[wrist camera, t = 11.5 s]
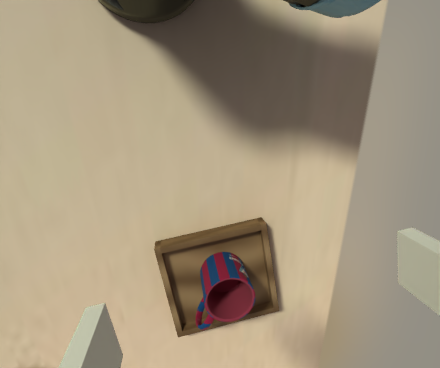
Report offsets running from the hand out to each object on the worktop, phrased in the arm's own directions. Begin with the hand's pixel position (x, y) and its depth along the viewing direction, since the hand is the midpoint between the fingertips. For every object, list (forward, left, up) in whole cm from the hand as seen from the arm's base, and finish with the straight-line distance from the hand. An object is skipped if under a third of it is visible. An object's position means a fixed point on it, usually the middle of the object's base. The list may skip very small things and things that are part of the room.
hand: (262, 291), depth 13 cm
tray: (+17, -1, -29) cm, 33 cm away
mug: (+17, -2, -28) cm, 33 cm away
